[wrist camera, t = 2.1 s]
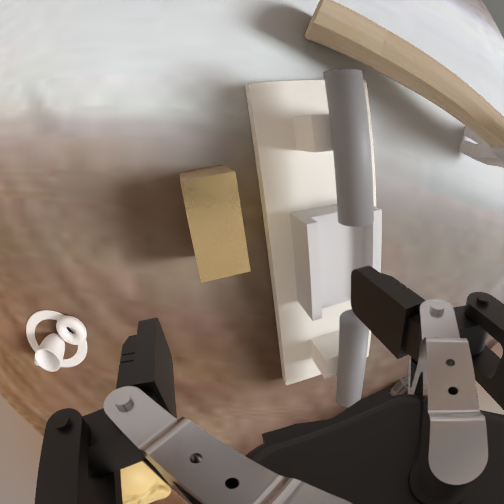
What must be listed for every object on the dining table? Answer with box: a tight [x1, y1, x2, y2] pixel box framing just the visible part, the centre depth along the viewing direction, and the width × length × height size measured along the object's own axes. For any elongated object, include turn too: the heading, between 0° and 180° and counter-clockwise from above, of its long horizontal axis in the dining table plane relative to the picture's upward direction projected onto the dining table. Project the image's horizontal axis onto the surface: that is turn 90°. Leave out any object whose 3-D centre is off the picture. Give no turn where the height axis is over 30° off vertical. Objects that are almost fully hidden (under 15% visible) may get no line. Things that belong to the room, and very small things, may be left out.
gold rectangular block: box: [179, 165, 250, 283], centre depth 26 cm, size 4×8×6 cm, turn 8°
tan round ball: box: [120, 461, 171, 504], centre depth 32 cm, size 11×12×11 cm
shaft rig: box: [245, 69, 382, 407], centre depth 29 cm, size 12×34×8 cm, turn 8°
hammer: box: [304, 0, 504, 168], centre depth 24 cm, size 16×5×30 cm
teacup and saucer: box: [26, 310, 87, 372], centre depth 27 cm, size 9×8×4 cm
